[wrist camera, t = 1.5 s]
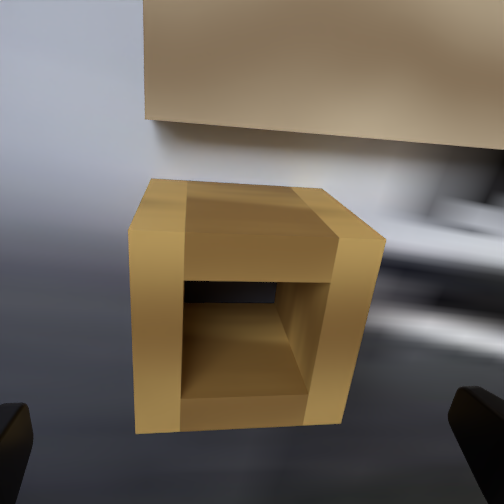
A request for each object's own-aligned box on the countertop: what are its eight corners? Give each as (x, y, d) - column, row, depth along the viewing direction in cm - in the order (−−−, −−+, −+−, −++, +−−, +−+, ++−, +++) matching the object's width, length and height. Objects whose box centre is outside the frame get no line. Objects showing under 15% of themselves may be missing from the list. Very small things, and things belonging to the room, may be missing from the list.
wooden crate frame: (298, 328, 16) (340, 423, 11) (152, 328, 15) (135, 433, 10) (321, 188, 14) (386, 239, 9) (151, 178, 13) (127, 230, 8)
